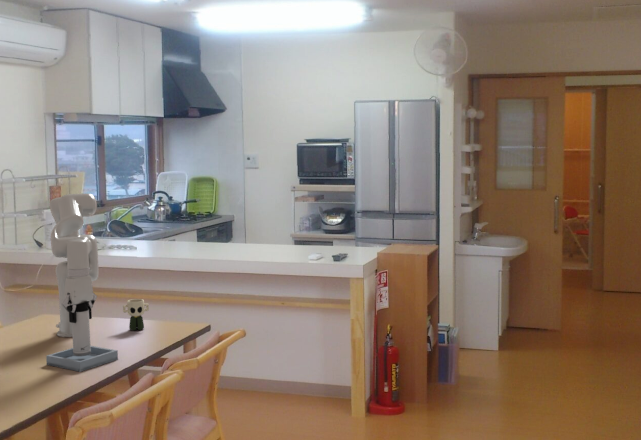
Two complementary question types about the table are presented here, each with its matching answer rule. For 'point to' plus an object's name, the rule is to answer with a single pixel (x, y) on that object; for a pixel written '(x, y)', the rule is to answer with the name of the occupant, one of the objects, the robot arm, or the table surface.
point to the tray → (82, 359)
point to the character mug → (136, 313)
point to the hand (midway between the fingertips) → (80, 320)
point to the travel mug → (81, 331)
